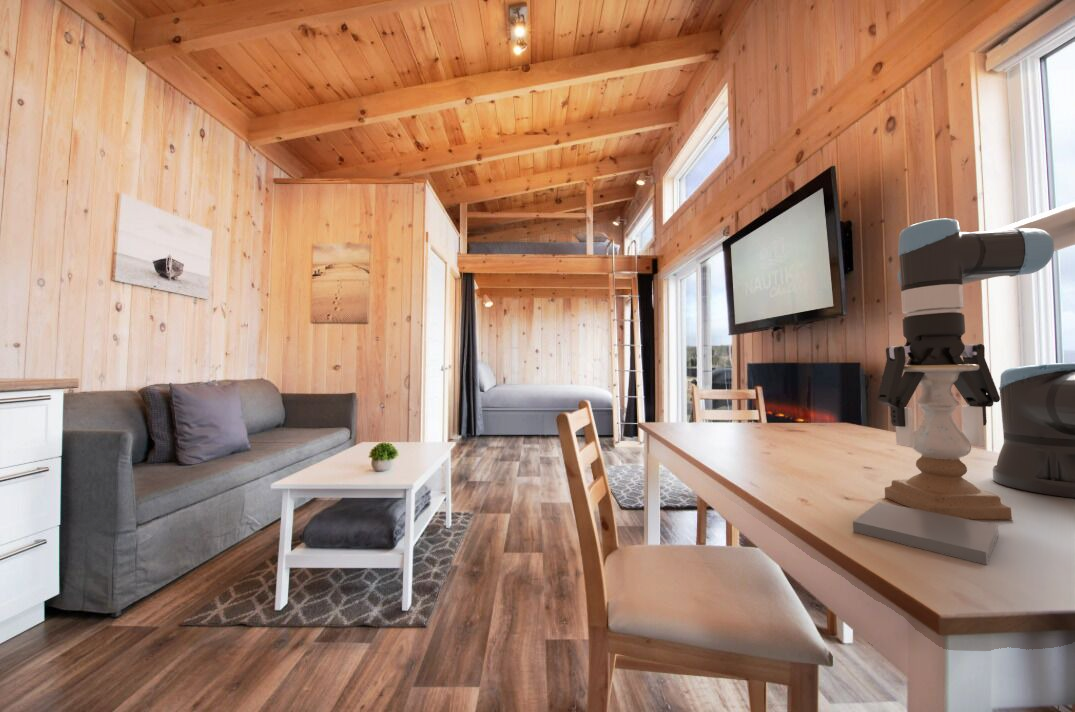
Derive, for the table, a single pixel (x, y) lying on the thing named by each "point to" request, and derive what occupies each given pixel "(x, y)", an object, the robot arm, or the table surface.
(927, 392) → the candle holder
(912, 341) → the robot arm
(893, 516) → the slate tile
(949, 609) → the table surface
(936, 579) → the table surface
